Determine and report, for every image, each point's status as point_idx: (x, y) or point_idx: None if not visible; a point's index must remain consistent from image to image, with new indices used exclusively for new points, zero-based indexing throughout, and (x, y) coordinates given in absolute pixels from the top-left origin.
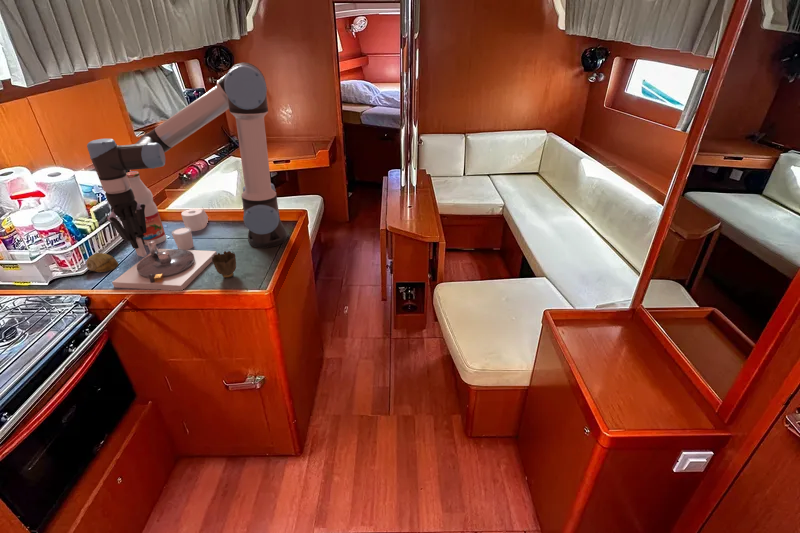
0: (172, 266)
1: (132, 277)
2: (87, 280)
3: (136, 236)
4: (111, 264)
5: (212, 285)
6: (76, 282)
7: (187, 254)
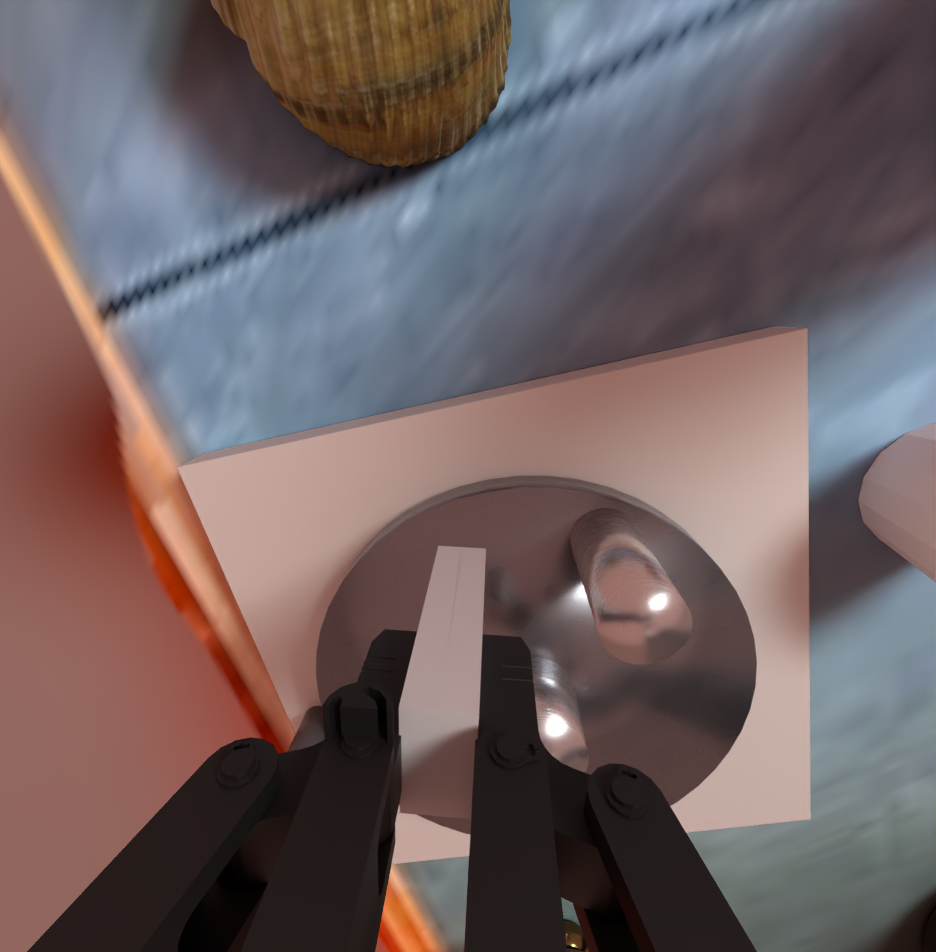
0: None
1: (296, 557)
2: (153, 110)
3: (472, 762)
4: (381, 149)
5: (461, 913)
6: (77, 28)
7: (674, 762)
